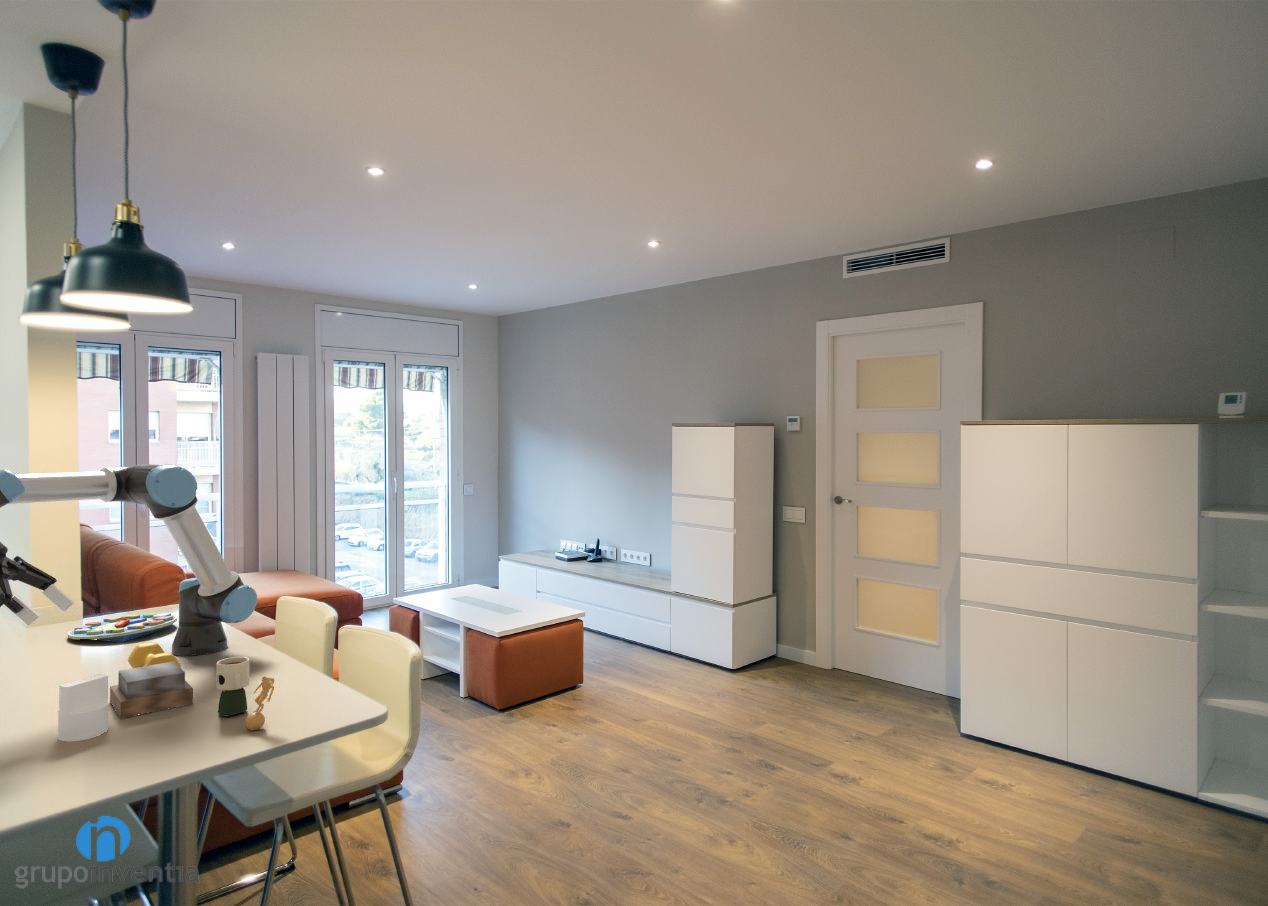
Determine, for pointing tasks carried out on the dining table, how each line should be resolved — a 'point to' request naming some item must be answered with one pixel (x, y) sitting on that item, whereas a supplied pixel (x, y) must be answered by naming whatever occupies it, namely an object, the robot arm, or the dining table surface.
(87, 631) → the shape sorting clock
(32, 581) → the robot arm
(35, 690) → the dining table surface
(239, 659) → the character mug
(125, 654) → the dining table surface
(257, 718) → the figurine
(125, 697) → the grey and brown block
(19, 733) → the dining table surface
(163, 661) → the dumbbell
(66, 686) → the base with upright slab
